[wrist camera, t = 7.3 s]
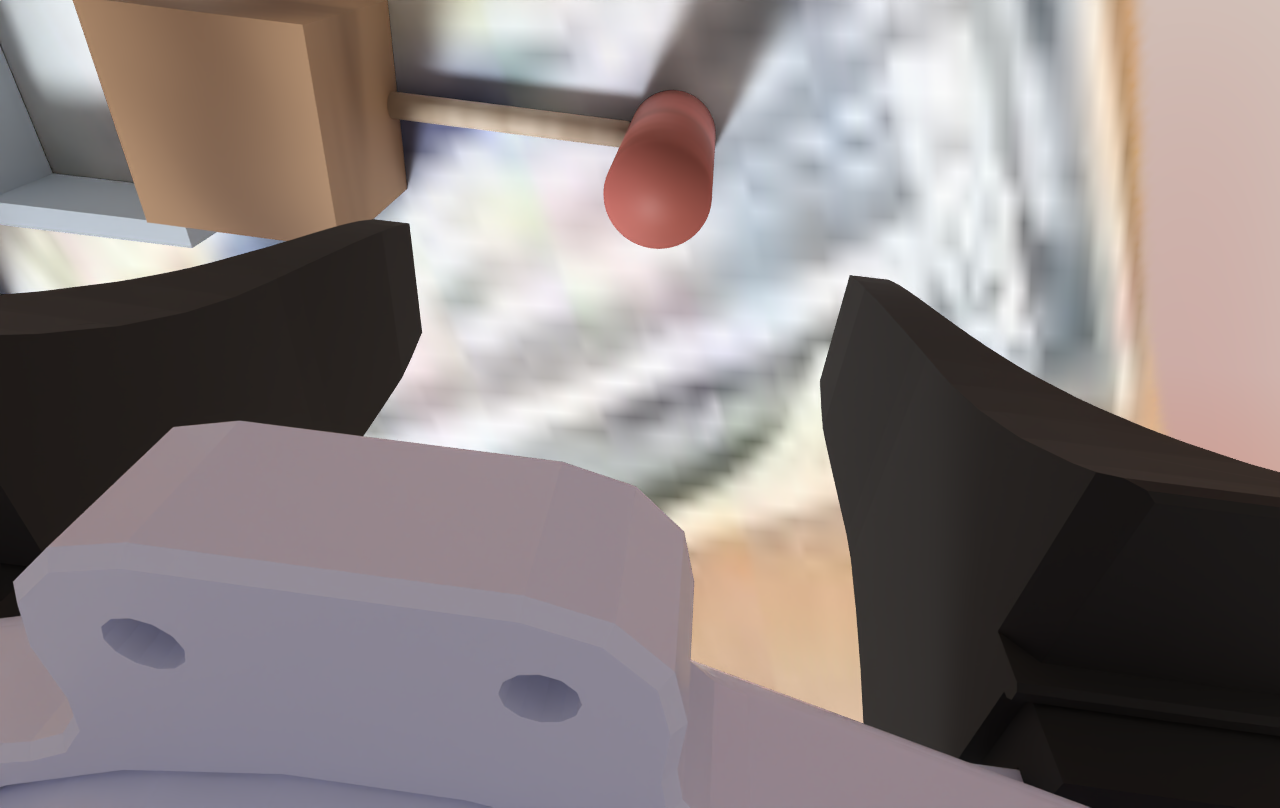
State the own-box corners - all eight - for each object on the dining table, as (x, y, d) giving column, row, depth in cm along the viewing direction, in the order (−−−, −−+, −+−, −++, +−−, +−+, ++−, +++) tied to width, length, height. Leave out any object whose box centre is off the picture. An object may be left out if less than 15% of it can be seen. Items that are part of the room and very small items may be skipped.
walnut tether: (246, 168, 21) (134, 230, 17) (201, -23, 18) (53, -2, 14) (701, 227, 21) (695, 305, 17) (730, 42, 18) (730, 82, 14)
